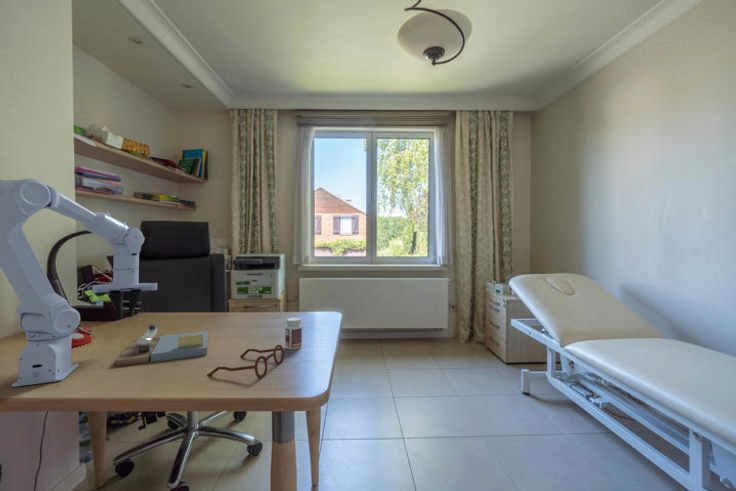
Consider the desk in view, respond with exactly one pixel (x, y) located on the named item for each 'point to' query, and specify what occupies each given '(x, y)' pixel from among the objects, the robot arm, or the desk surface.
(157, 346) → the door panel
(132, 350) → the jamb board
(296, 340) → the pill bottle
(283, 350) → the glasses
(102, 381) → the desk surface
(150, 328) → the bar
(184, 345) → the brass keeper
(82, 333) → the tracker holder
